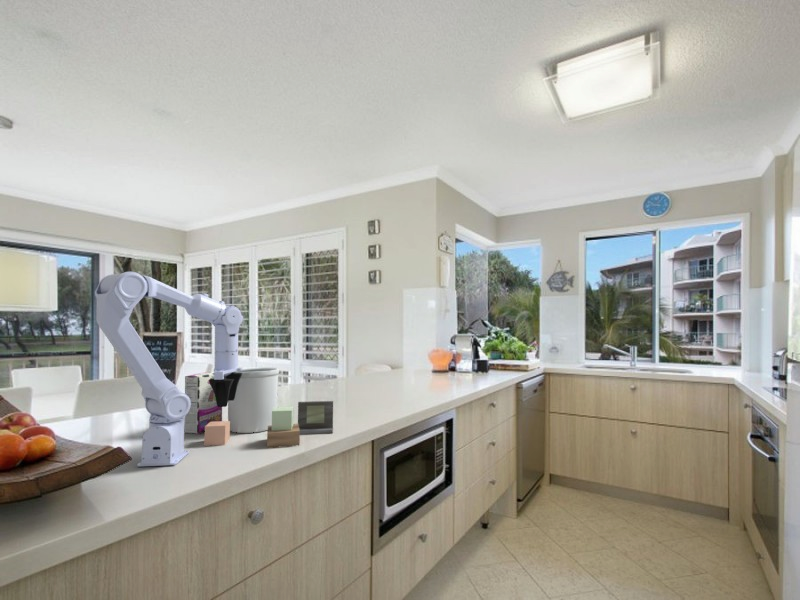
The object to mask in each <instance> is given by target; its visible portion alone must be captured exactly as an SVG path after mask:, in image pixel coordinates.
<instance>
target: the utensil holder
mask: <svg viewBox="0 0 800 600" xmlns="http://www.w3.org/2000/svg"><path fill="white" fill-rule="evenodd" d="M235 373H242V376H241V378H240V380H239V383H238V386H237V390H236V395H235V399H234V400H233V401H228V404H227V419H228V420H227V421H230V432H232V433H236V432H237V433H238V434H250V433H253V432H254V433H260V432H261V433H262V432H266V431H268V426H269V425H272V410H273V409H274V408H275V407H278V397H279V396H278V391H279V373H280V368H279V367H273V366H253V367H251V366H250V367H243V370H242V371H237V372H235ZM254 433H253V434H254Z"/></svg>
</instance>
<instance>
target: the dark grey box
mask: <svg viewBox="0 0 800 600" xmlns="http://www.w3.org/2000/svg"><path fill="white" fill-rule="evenodd" d="M333 418H334V400H324V401H323V400H321V401H320V400H318V401H317V400H316V401H298V403H297V424H298V425H299V430H300V435H323V434H325V435H326V434H333V433H334V419H333Z"/></svg>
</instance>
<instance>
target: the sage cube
mask: <svg viewBox="0 0 800 600" xmlns="http://www.w3.org/2000/svg"><path fill="white" fill-rule="evenodd" d="M294 408H295V407H294V406H277V407H275V408H274V409H273V410H272V431H278V430H292V427H293V424H294V418H295V417H294V412H295V411H294V410H295V409H294Z"/></svg>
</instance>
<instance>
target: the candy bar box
mask: <svg viewBox="0 0 800 600" xmlns="http://www.w3.org/2000/svg"><path fill="white" fill-rule="evenodd" d="M213 378H214V370H212V371H205V372H201V373H194V374H191V375H189V374H188V375H186V376H184V393H185V394H186V395H187V396H188V397H189V398H190V401H191V407H190V410H189V412H188V413H187V414H186V416H185V426H184V434H188V433H192V434H193V435H194V434H195V435H199V434H202V433H205V432H204V431H205V426H206V425H207V424H208V423H210V422H218V421H223V407H218V406H217V403H216V398H215V394H214V391H213V389H212V387H211V385H210V384H209V379H213Z"/></svg>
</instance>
